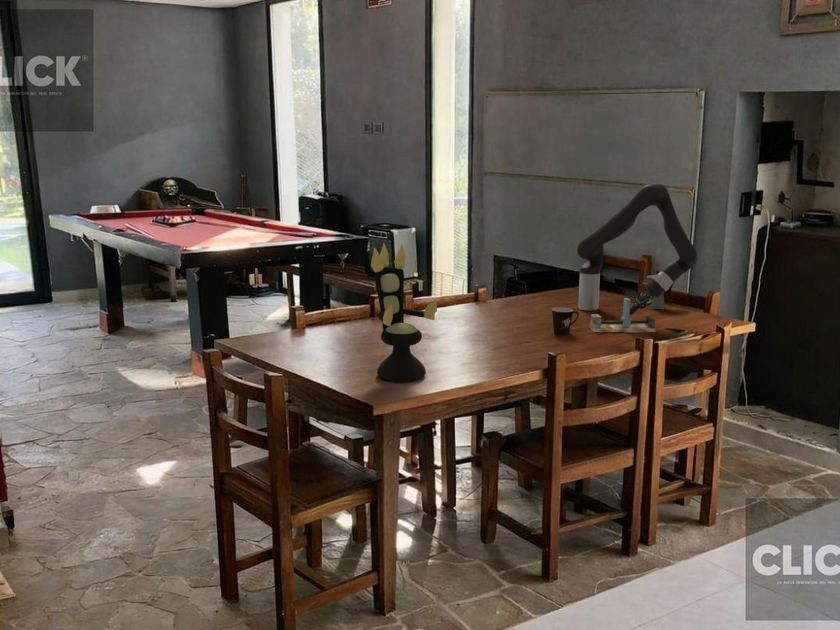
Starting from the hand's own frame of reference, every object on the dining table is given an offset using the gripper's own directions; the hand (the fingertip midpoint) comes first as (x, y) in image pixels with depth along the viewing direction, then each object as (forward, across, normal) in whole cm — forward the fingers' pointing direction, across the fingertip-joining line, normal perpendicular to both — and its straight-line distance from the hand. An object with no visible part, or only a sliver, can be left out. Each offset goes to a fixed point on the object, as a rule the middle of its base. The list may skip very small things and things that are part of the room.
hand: (629, 313), depth 356 cm
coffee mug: (+25, +4, -15) cm, 29 cm away
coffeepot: (-15, -43, +25) cm, 52 cm away
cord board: (+7, 0, +3) cm, 8 cm away
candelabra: (+77, +60, -66) cm, 118 cm away
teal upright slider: (+5, 0, +3) cm, 5 cm away
